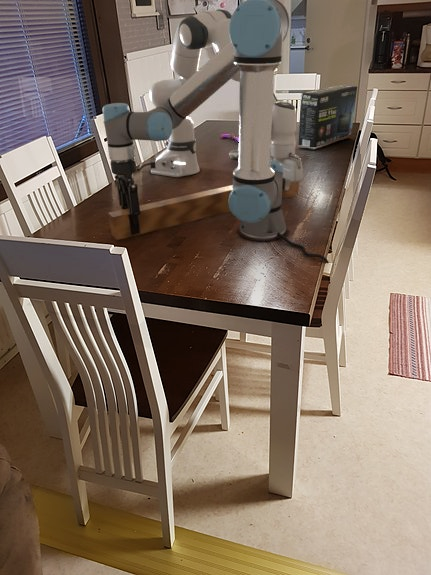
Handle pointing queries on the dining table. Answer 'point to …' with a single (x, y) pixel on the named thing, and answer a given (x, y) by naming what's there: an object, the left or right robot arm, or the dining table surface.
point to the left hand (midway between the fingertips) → (281, 187)
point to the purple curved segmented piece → (228, 137)
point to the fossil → (234, 154)
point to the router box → (326, 115)
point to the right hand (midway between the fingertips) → (132, 230)
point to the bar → (179, 210)
